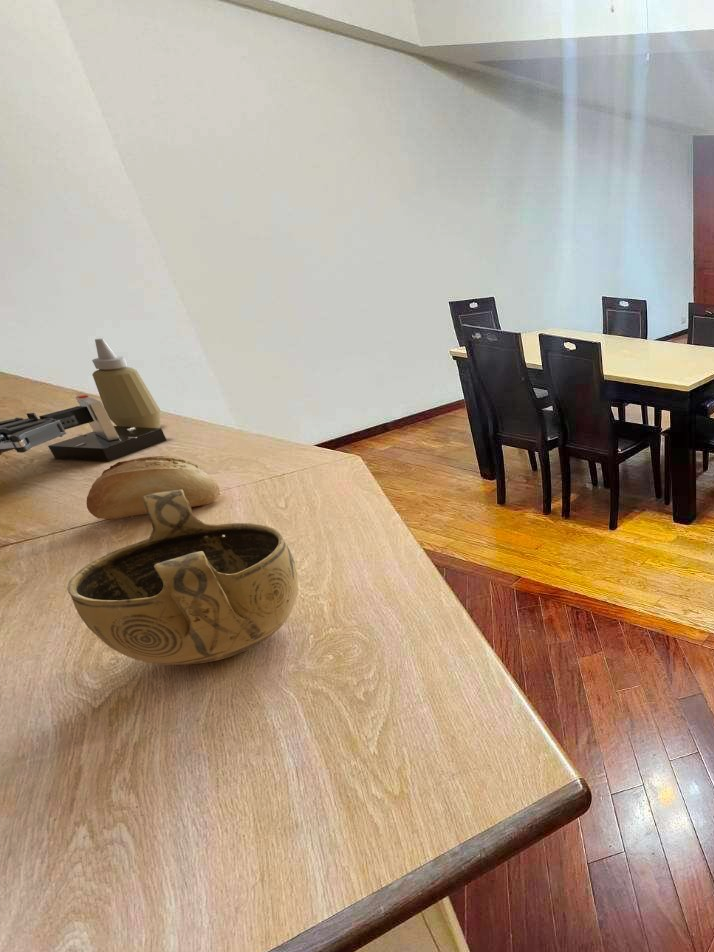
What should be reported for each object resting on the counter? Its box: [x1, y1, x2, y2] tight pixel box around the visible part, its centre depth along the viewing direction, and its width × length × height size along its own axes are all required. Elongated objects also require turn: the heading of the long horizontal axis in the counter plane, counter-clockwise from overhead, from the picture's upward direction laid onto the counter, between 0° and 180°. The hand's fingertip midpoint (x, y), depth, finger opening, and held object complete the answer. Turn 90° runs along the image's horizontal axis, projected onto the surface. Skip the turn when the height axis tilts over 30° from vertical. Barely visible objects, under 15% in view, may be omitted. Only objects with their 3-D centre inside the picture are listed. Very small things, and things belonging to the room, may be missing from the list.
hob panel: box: [47, 425, 167, 462], centre depth 112 cm, size 12×11×3 cm
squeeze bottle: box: [91, 338, 162, 428], centre depth 118 cm, size 8×8×18 cm
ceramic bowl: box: [66, 490, 299, 666], centre depth 61 cm, size 22×17×15 cm
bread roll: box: [86, 455, 221, 520], centre depth 90 cm, size 10×15×8 cm, turn 132°
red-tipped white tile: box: [75, 394, 119, 441], centre depth 109 cm, size 7×2×7 cm, turn 59°
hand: (85, 413), depth 107 cm, fingers closed
